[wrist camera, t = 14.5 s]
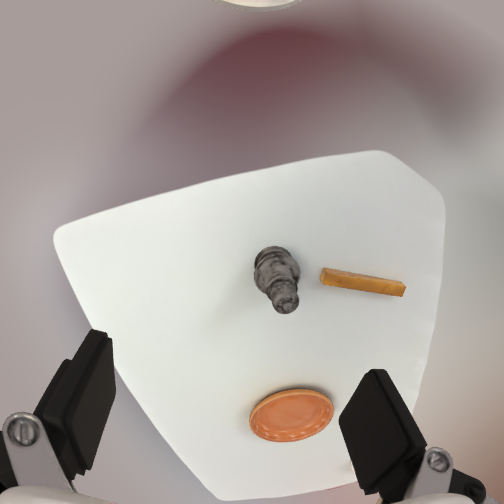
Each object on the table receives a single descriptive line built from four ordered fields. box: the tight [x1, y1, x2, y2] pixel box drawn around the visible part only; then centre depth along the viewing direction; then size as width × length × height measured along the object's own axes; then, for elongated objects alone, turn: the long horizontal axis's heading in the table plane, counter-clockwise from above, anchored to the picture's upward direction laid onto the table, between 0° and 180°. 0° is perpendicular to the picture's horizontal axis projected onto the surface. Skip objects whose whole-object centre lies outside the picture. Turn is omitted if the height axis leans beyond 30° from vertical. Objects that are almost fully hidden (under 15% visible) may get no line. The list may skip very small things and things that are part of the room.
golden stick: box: [320, 268, 406, 297], centre depth 42 cm, size 2×14×2 cm, turn 77°
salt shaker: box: [254, 246, 300, 314], centre depth 36 cm, size 6×6×12 cm
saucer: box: [249, 389, 334, 442], centre depth 51 cm, size 16×16×3 cm
